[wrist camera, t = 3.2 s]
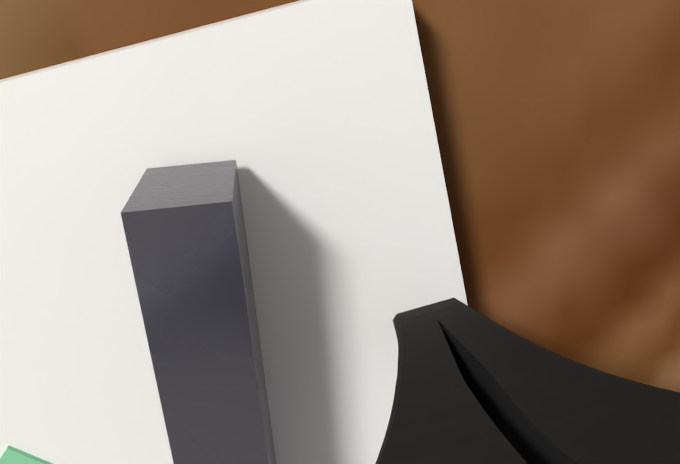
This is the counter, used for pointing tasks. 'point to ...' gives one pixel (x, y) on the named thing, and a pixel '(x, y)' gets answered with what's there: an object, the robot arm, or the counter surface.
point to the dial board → (259, 218)
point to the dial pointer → (200, 312)
